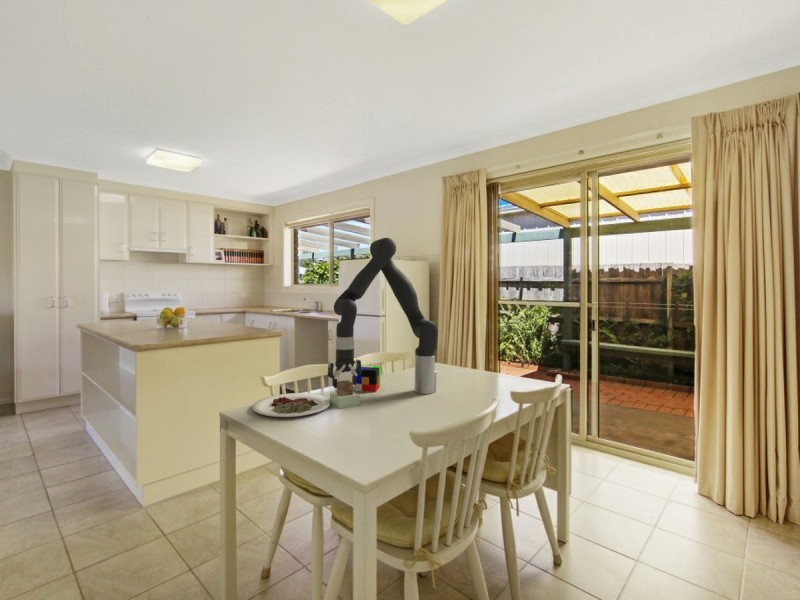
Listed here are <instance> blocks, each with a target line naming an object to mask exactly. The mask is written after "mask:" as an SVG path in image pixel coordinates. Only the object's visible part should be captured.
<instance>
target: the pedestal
mask: <svg viewBox="0 0 800 600" xmlns="http://www.w3.org/2000/svg"><path fill="white" fill-rule="evenodd" d="M329 400H330V405H331V406H333V407H335V408H336V409H338V410H340V409H344V408H345V409H346V408H350V407H358V406H361V405H362V403H361V402H360V395H359V394H358V393H356V392H354V391H353V395H347V396H340V395H338V394H337V391H334V392H330V393H329Z"/></svg>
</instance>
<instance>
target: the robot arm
mask: <svg viewBox="0 0 800 600" xmlns="http://www.w3.org/2000/svg"><path fill="white" fill-rule="evenodd" d="M369 251H370V256H371V259H370V260H369V261H368V262H367V264H366V265H365V266H364V267H363V268H362V269H361V270H360V271H359V272H358V273H357V274H356V276H355V277H353V280H352V281H351V282H350V284H349V286H348V287H347V289H346V290H344V291H343V292H342V293H341V294H340V295H339V296H338V298H337V299H336V300H335V302H334V304H333V311H334V313H335V314H336V315H337V316H341V318H340V322H338V323H336V332H335V335H336V336H335V337H336V339H335V362H328V364H327V365H328V366H327V377H328V378H330V379H332V381H331V384H332V387H333V388H334V389H337V381H338V377H339V375H341V373H346V372H347V373H348V372H350V374H352V376H351V378H352V379H351V382H353V386H355V385H356V384H357V376H358V375H359V374H361V365H362V360H360V359H358V358H357V359H355V338H354V337H355V335H354V332H355V331H354V330H355V329H354V326H355V322H356V319H357V313H358V308H357V304H356V301H357V300H360V299H361V298H362V297H364V294H366V292H367V290H368V289H369V287H370V285H371V284H372V283H373V281H374V280H375V278H376V277H377V275H378V274H379V273H380V271H381V272H382V274H383V276H384V278H385V279H386V282H387V283H388V285H389V287H390V289H391V291H392V293H393V295H394V297H395V299H396V300H397V302H398V304H399V306H400V307H401V310H403V313H404V315H405V316H406V318H407V321H408V323H409V325H410V328H411V331H412V333H413V335H414V336H415V337H416V338H417V339H419V341H418V346H416V348H415V349H414V353H415V354H414V357H415V358H414V393H417V394H420V395H421V394H422V395H429V394H430V395H431V394H434V393H435V392H437V371H436V351H437V348H438V339H439V337H438V333H439V331H438V330H439V329H438V326H437V324H436V323H435V322H434V321H432V320H427V319H426V318H425V316H424V314H423V312H422V310H421V309H420V306H419V302H418V301H419V299H418V295H417V291H416V290H415V288H414V285H413V284H412V282H411V280H410V279H409V277H407V276H406V275H405V273H404V272H402V271H401V269H399V268H398V266H397V265H396V264H395V263H394V261H393V260H394V259H393V257H394V255H396V252H397V244H396V242H395V241H394V239H392V238H390V237H382V238H379V239H377V240H373V242H371V244H370V246H369ZM354 366H355V368H354ZM355 369H356V371H355Z"/></svg>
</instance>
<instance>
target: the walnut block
mask: <svg viewBox="0 0 800 600" xmlns="http://www.w3.org/2000/svg"><path fill="white" fill-rule="evenodd" d="M336 392H337V394H338V395H340V396H347V395H353V392H354V385H353V382H352V380H351V381H350V380H348V379H345V380H340V381H339V380H337V388H336Z"/></svg>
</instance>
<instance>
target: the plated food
mask: <svg viewBox="0 0 800 600" xmlns="http://www.w3.org/2000/svg"><path fill="white" fill-rule="evenodd" d="M301 393H303V392H298V393H296V392H295V393H294V392H293V393H283V394H276V395H271V396H267V397H264V398H261V399H259V400H257V401H255V402H254V403H253V404H252V410H253V411H254V413H257V414H259V415H263V416H266V417H267V416H268V417H276V418H295V417H297V418H298V417H305V416H308V415H312V414H316V413H319V412H321V411H324V410H326V409H327V408H328V407H330V405H331V404H330V398H328V397H326V396H324V395H320V394H317V393H316V394H315V393H306V392H304V393H303V394H301ZM289 398H290V399H289ZM269 401H270V402H269ZM271 402H273V403H271ZM259 403H260V404H259Z"/></svg>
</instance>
